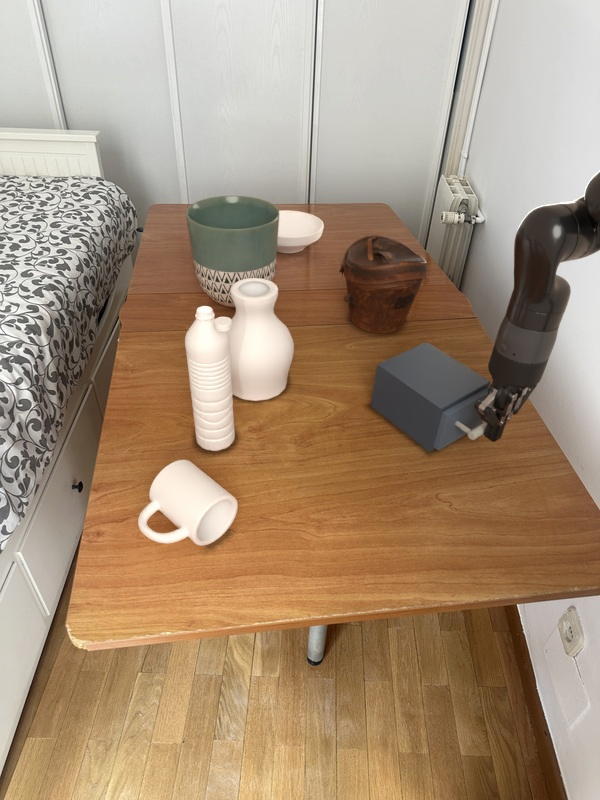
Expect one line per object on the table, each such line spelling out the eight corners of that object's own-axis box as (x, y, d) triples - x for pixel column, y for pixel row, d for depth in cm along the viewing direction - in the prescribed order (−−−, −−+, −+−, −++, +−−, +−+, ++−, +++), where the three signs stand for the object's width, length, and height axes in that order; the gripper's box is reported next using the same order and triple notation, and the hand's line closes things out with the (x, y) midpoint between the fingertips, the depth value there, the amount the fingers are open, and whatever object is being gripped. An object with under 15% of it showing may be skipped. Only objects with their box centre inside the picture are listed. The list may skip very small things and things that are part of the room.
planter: (252, 275, 139) (250, 190, 125) (294, 308, 126) (297, 218, 113) (181, 293, 130) (171, 204, 117) (218, 331, 118) (211, 236, 104)
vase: (276, 412, 97) (277, 316, 85) (205, 393, 101) (196, 298, 88) (303, 369, 108) (307, 278, 95) (238, 353, 111) (234, 263, 99)
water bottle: (188, 437, 91) (171, 307, 76) (219, 420, 95) (209, 293, 79) (220, 465, 87) (209, 333, 71) (251, 446, 90) (247, 316, 74)
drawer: (501, 438, 93) (514, 403, 88) (458, 466, 87) (469, 430, 82) (424, 386, 103) (432, 352, 98) (382, 408, 98) (388, 373, 93)
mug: (196, 486, 83) (191, 449, 78) (239, 522, 78) (237, 486, 73) (128, 532, 76) (118, 494, 71) (172, 575, 71) (164, 538, 66)
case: (358, 291, 134) (366, 220, 123) (431, 317, 126) (447, 243, 114) (318, 320, 123) (323, 245, 111) (396, 351, 114) (410, 273, 103)
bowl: (252, 234, 159) (251, 210, 155) (317, 233, 161) (318, 210, 157) (255, 263, 144) (254, 237, 140) (326, 262, 146) (328, 236, 142)
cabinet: (476, 423, 97) (490, 381, 91) (429, 452, 91) (440, 408, 85) (417, 382, 106) (426, 341, 100) (370, 406, 100) (377, 364, 93)
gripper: (517, 375, 70) (485, 468, 81) (572, 344, 77) (536, 434, 87) (471, 349, 75) (446, 440, 86) (527, 322, 81) (497, 410, 92)
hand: (491, 437), depth 86 cm, fingers closed
